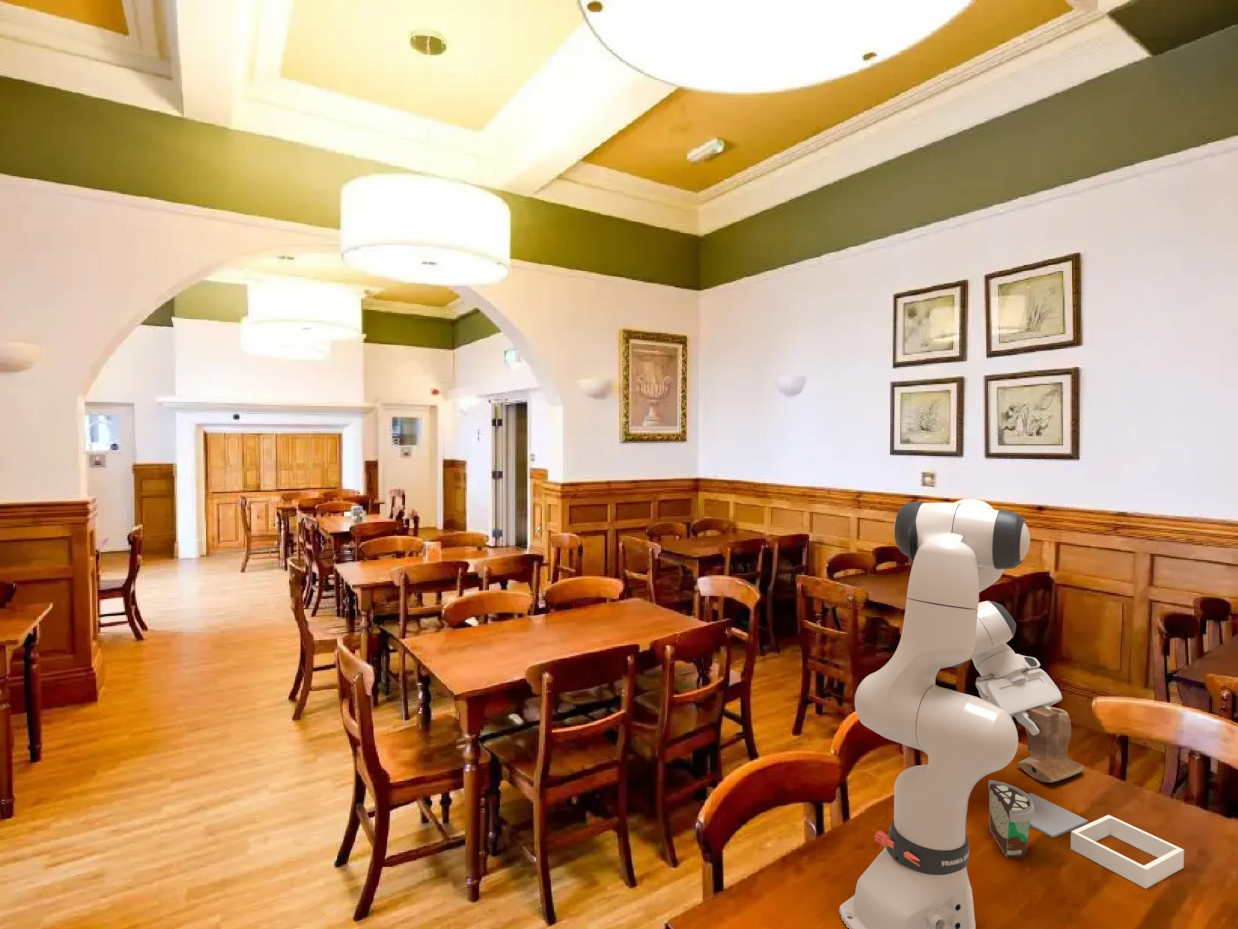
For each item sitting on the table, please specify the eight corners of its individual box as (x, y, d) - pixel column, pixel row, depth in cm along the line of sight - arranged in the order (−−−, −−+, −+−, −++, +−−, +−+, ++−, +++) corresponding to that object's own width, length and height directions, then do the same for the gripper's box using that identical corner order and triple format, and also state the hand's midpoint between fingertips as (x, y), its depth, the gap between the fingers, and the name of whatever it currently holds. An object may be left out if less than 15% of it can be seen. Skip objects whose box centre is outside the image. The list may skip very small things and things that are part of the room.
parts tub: (1145, 888, 119) (1146, 869, 118) (1070, 849, 130) (1071, 831, 130) (1183, 868, 124) (1184, 849, 124) (1108, 831, 136) (1108, 814, 136)
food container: (1045, 867, 125) (1046, 815, 124) (1009, 863, 126) (1010, 811, 125) (1019, 829, 137) (1020, 781, 136) (987, 825, 138) (988, 778, 138)
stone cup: (1041, 753, 169) (1042, 695, 168) (1091, 775, 158) (1093, 713, 157) (1002, 767, 162) (1003, 706, 162) (1052, 790, 152) (1053, 726, 151)
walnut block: (1046, 759, 138) (1047, 716, 138) (1027, 750, 142) (1028, 709, 141) (1058, 754, 140) (1059, 713, 140) (1039, 746, 144) (1039, 706, 143)
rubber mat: (1053, 838, 133) (1053, 836, 133) (996, 808, 144) (996, 806, 144) (1088, 822, 139) (1088, 820, 139) (1030, 795, 150) (1030, 792, 150)
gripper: (981, 672, 142) (1025, 735, 133) (1040, 657, 151) (1085, 715, 142) (962, 685, 146) (1004, 747, 138) (1021, 670, 155) (1063, 728, 147)
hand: (1046, 731), depth 140 cm, fingers closed on walnut block, 4 cm apart
